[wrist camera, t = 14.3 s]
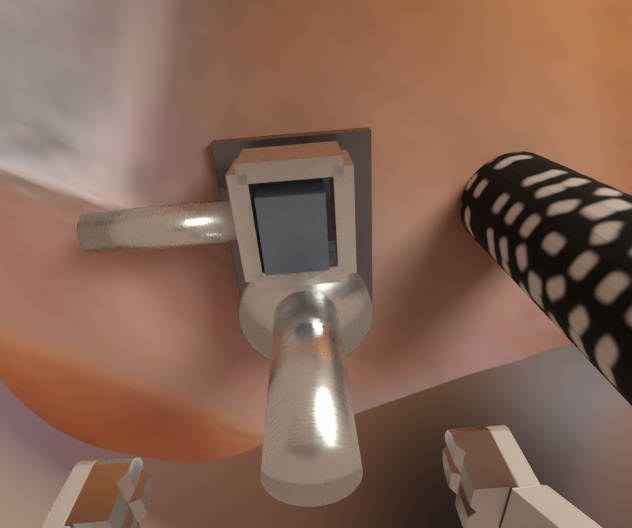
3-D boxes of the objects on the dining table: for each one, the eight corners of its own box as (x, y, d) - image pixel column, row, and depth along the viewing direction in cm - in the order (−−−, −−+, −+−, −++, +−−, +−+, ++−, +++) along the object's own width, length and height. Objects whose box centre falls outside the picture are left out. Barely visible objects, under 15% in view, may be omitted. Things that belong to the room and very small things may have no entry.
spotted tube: (441, 222, 34) (591, 401, 17) (500, 133, 31) (767, 242, 13) (515, 257, 36) (718, 450, 19) (578, 177, 33) (900, 321, 15)
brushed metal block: (265, 159, 30) (254, 198, 22) (317, 155, 30) (325, 193, 22) (273, 220, 32) (265, 275, 24) (321, 216, 32) (329, 270, 24)
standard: (113, 146, 30) (-144, 279, 13) (368, 124, 30) (467, 227, 13) (169, 325, 38) (61, 557, 21) (370, 308, 38) (431, 524, 21)
